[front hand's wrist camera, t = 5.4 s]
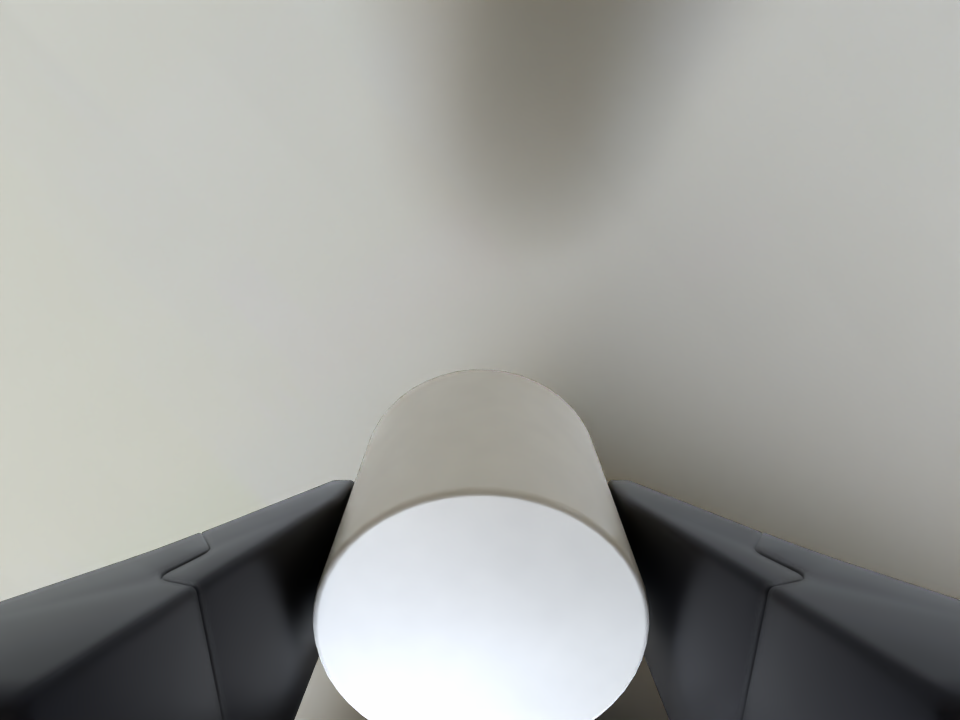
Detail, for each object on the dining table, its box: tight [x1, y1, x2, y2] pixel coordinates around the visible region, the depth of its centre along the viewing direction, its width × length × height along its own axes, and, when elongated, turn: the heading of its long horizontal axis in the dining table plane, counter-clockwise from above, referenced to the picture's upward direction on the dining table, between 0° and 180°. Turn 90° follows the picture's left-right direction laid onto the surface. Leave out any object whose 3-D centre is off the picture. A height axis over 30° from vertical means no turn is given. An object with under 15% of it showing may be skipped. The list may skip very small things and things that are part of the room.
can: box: [313, 370, 650, 720], centre depth 11 cm, size 5×5×4 cm
